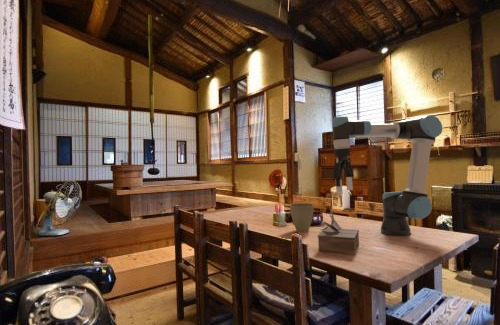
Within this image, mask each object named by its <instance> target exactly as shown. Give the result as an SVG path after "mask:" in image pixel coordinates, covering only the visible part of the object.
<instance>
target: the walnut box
mask: <svg viewBox="0 0 500 325" xmlns="http://www.w3.org/2000/svg"><path fill="white" fill-rule="evenodd" d="M323 229H324V228H323ZM359 232H360V230H359V229H351V228H350V229H349V228H342V229H341V230H339V231H338V232H337V233H336V232H335V231H333V230H332V229H331V228H329V227H328V228H326V229H324V230H321V232H319V233H318V234H317V238H318V241H317V242H318V252H320V253H329V254H331V253H332V254H339V255H351V256H356V253H357V252H358V251H357V250H358V248H359V247H360V241H359V238H360V237H359Z"/></svg>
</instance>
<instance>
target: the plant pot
mask: <svg viewBox="0 0 500 325" xmlns="http://www.w3.org/2000/svg"><path fill="white" fill-rule="evenodd" d="M314 208H315V204H313V203H304V202H299V203H291V204H289V211H290V216H291V219H292V221H293V226H294V228H295V230H296V232H299V233H307V232H309V230H310V227H311V224H312V220H313V216H314V211H315V210H314Z"/></svg>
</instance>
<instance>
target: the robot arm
mask: <svg viewBox="0 0 500 325" xmlns="http://www.w3.org/2000/svg"><path fill="white" fill-rule="evenodd" d="M331 122H332V123H331V124H332V126H331V128H332V136H333V137H332V138H333V139H332V140H333V142H332V144H333V148H334V150H333V152H334V153H333V154H334V157H335V158H334V168H333V174H332V179H333V181H334V180H335V192H336V194H343V180H342V175H343V171H344V173H345V175H346V177H345V180H346V181H345V183H346V190H347V191H353V190H354V188H353V186H354V185H353V177H354V176H355V175H354V170H353V166H352V162H351V157H350V156H351V148H350V147H351V143H350V142H351V141H350V139H351V138H354V139H355V138H359V139H360V138H390V139H392V140H395V139H396V140H409V141H410V143H411V144H412V145H411V151H410V160H409V166H408V173H407V174H408V175H407V181H406V187H405V188H404V189H403V190H402V191H391V192H389V191H388V192H384V193H383V194H382V211H383V212H382V214H383V220H382V223H381V226H380V233H382V234H385V235H389V236H390V235H391V236H408V235H410V234H411V228H410V225H409V223H408V222H409V221H408V220H407V218H411V219H414V220H423V219H425V218H427V217H428V216H429V215H430V214H431V212H432V210H433V209H432V207H433V205H432V202H431V199H430V198H429V197H428V196H429V194H428V192H427V191H426V186H427V185H426V184H427V177H428V171H429V163H430V156H431V150H432V149H431V148H432V146H433V144H435V143H436V138H438V137H439V136H440V135H441V134H442V132H443V124H442V122H441V120H440V118H439V117H437V116H436V115H433V114H428V115H422V116H418V117H413V118H408V119H404V120H400V121H391V122H390V123H371V121H370V120H367V119H360V120H357V119H356V120H349V117H348V116H345V115H343V116H335V117H333V118H332V120H331Z"/></svg>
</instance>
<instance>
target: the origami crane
mask: <svg viewBox="0 0 500 325" xmlns="http://www.w3.org/2000/svg"><path fill="white" fill-rule="evenodd" d="M330 212H331V213H328V214H329V216H330V219H331V223H328V222H326V221H325V220H324V221H323V222H322V224H324V225H325V226H326V227H324V228H322V229H321V230H320V231H321V232H322V231H323V230H324V229H326V228H331V229H332V230H333V231H335V232H336V233H337V232H338V231H339V230H341V229H343V228H342V227H341V226H340V224H339V223H338V222H337V221H336V220H335V218H334V217H335V216H334V214H333V213H334V212H333V209H331V210H330Z"/></svg>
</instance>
